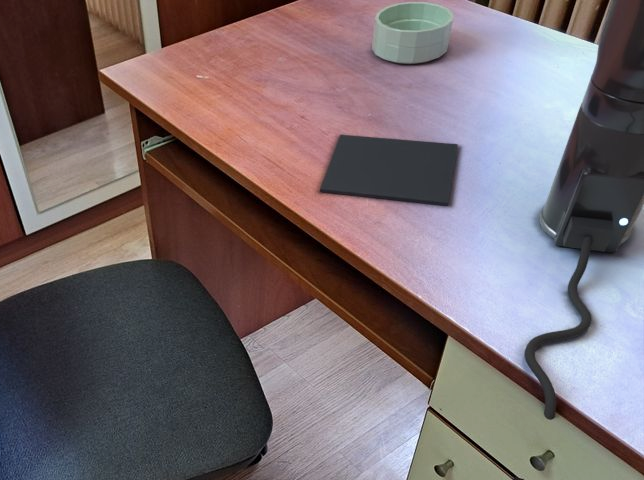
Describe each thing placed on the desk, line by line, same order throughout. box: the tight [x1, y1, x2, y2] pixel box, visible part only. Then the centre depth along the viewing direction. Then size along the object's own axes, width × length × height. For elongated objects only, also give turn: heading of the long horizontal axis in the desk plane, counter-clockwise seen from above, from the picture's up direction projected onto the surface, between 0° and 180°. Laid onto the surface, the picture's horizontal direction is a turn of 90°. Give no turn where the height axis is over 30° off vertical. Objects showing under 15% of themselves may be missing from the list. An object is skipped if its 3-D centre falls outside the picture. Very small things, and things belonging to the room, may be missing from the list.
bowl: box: [371, 1, 455, 65], centre depth 109 cm, size 12×12×6 cm
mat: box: [319, 134, 459, 207], centre depth 88 cm, size 14×16×1 cm
